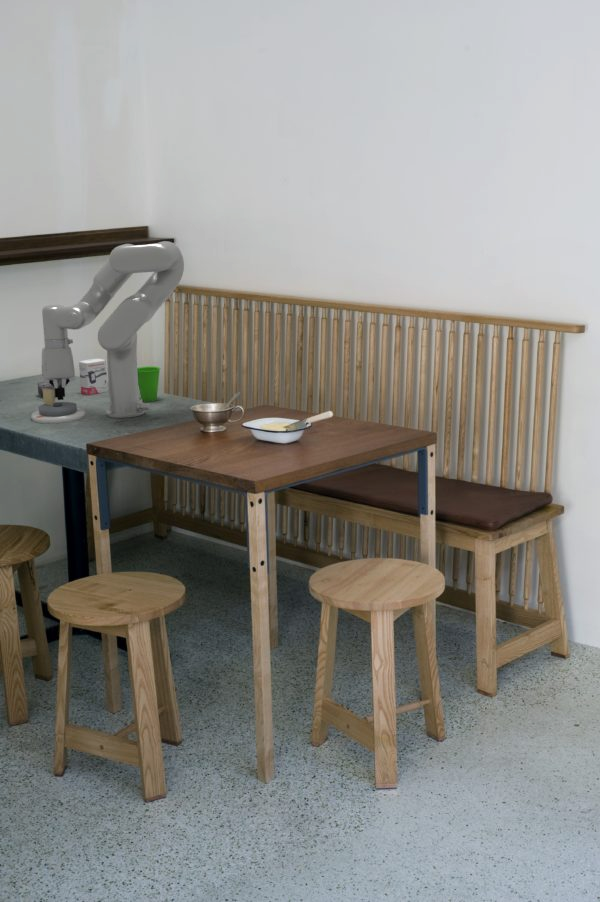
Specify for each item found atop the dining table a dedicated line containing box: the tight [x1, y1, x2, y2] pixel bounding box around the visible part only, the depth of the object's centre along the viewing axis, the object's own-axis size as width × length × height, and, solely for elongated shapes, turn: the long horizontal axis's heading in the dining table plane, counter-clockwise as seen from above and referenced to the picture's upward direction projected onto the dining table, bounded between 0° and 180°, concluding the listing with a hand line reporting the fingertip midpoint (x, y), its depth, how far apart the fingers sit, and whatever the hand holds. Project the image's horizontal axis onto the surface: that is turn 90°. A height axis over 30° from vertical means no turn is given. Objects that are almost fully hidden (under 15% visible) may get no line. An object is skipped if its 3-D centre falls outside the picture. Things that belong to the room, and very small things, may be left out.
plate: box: [30, 407, 86, 424], centre depth 357 cm, size 17×17×2 cm
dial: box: [38, 388, 78, 416], centre depth 356 cm, size 12×12×7 cm
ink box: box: [78, 357, 109, 396], centre depth 394 cm, size 8×5×12 cm, turn 134°
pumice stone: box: [37, 379, 61, 398], centre depth 391 cm, size 10×8×10 cm
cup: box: [137, 365, 161, 403], centre depth 379 cm, size 9×9×11 cm
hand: (60, 399), depth 360 cm, fingers closed
